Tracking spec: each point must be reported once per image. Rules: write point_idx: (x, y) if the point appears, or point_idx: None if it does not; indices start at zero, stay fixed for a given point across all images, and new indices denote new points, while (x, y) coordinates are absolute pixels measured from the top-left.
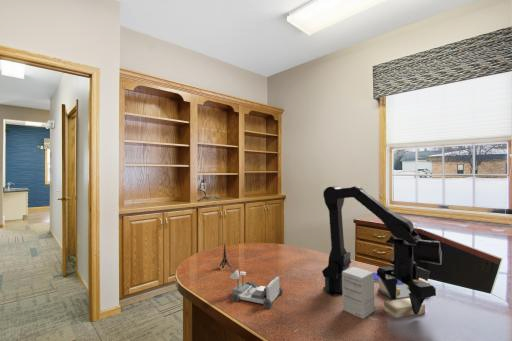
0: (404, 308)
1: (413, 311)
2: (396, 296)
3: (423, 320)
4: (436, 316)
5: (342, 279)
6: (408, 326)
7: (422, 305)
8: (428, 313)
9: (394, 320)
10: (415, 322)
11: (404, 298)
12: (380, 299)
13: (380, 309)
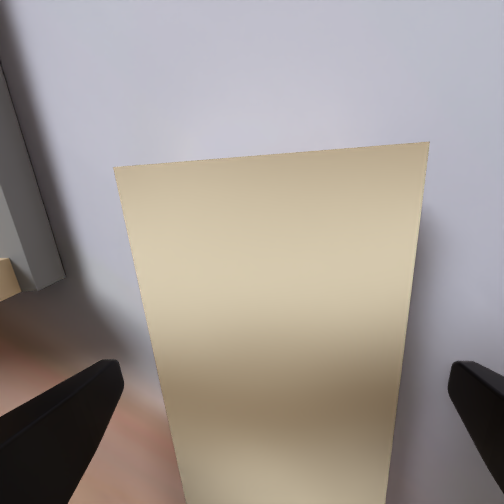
0: (381, 480)
1: (475, 434)
2: (4, 272)
3: (488, 304)
4: (500, 71)
5: None
6: None
7: (415, 203)
8: (396, 121)
9: None
10: None
11: (13, 157)
12: (40, 384)
13: None
